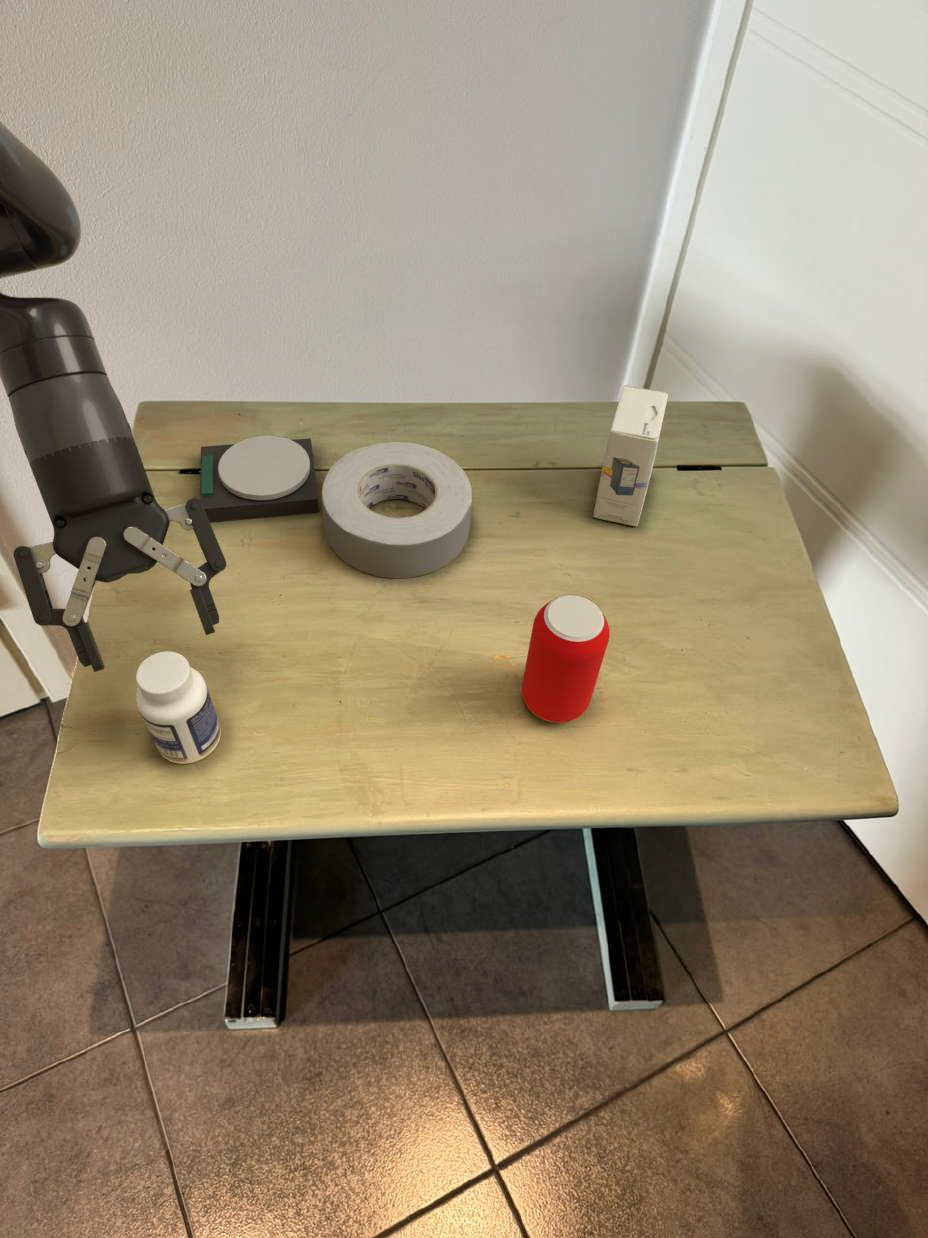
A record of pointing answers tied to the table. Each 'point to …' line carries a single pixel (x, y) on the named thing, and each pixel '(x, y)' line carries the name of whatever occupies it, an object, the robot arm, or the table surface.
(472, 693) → the table surface
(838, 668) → the table surface
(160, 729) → the pill bottle
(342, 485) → the tape roll
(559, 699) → the beverage can
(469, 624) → the table surface
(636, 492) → the ink box
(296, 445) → the scale
